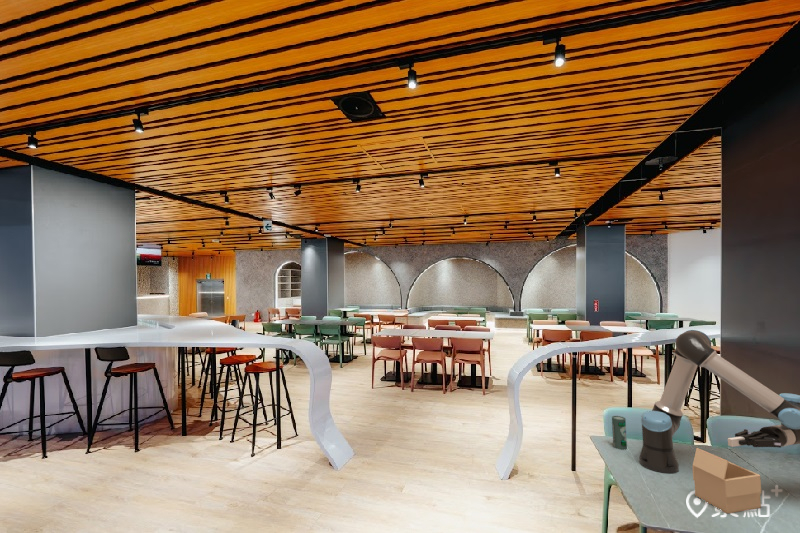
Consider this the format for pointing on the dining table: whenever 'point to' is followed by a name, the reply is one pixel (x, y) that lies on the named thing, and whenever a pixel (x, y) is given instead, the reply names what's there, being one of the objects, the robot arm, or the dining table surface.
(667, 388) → the robot arm
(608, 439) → the dining table surface
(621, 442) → the can
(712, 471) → the flap
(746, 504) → the carton
